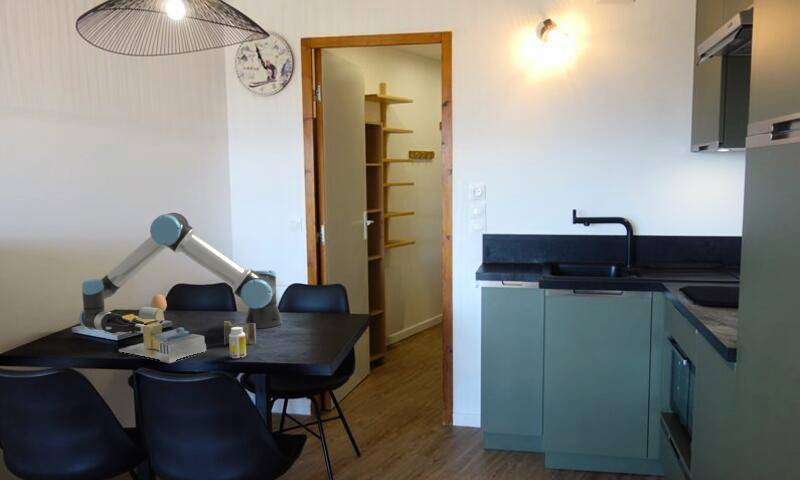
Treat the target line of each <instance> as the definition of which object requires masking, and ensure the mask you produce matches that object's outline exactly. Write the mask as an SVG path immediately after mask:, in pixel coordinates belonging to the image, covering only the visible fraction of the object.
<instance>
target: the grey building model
mask: <svg viewBox="0 0 800 480" xmlns="http://www.w3.org/2000/svg"><path fill="white" fill-rule="evenodd" d="M154 337H155V339H158V340H163V341H166V342H162V343H159V350H157V349H149V348H145V347H144V342H141V343H137V344H134V345H133V344H132V345H130V346H126V347H122V348H118V352H119V353H122V352H124V353H123V354H126V353H130V354H129V355H131V354H135V355H140V356H145V357H150V358H155V359H159V360H160V361H159V362H163V363H167V364H172V363H174V362H177V361H176V360H177V359H180V358H183V357H186V356H189V355H193V354H197V353H201V352H204V353H206V352H207V344H206V341H205V335H202V334H201V335H200V334H195V333H192V334H190V331H188V330H185V327H181V326H180V327H176V329H171V330H166V331H164V332H163V331H162V333H159V334H155V335H154ZM205 351H206V352H205ZM201 354H202V353H201ZM135 355H134V356H135ZM140 356H139V357H140Z"/></svg>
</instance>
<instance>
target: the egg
mask: <svg viewBox="0 0 800 480" xmlns="http://www.w3.org/2000/svg"><path fill="white" fill-rule="evenodd" d="M150 303H151V304H150V307H151V308H158V309H161V310H162V311H163V313H164V312H165V311H166V309H167V307H168V305H167V300H166V297H164V295H162V294H160V293H157V294H155V295H154V296H153V298H152V300H151V302H150Z"/></svg>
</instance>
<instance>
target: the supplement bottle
mask: <svg viewBox="0 0 800 480" xmlns="http://www.w3.org/2000/svg"><path fill="white" fill-rule="evenodd" d="M228 344H229V357H230V358H231V357H232V359H241V358H240V357H242V358H244V357H246V356H247V344H246V339H245V333H244V332H243V328H242V327H233V328H231V333H230V334H229V343H228Z"/></svg>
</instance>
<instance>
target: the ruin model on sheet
mask: <svg viewBox="0 0 800 480" xmlns="http://www.w3.org/2000/svg"><path fill="white" fill-rule="evenodd" d="M223 322H224V325H223V336H224V337H223V338H224V339H223V342H224V346H226V345H227V344H229V334H230V333H231V328H233V327H242V328H243V332H244V333H245V339H246V345H255V344H256V343H257V332H256V330H257V328H256V325H255V323H251V324H245V323H231V320H227V321H225V320H224V321H223Z"/></svg>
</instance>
